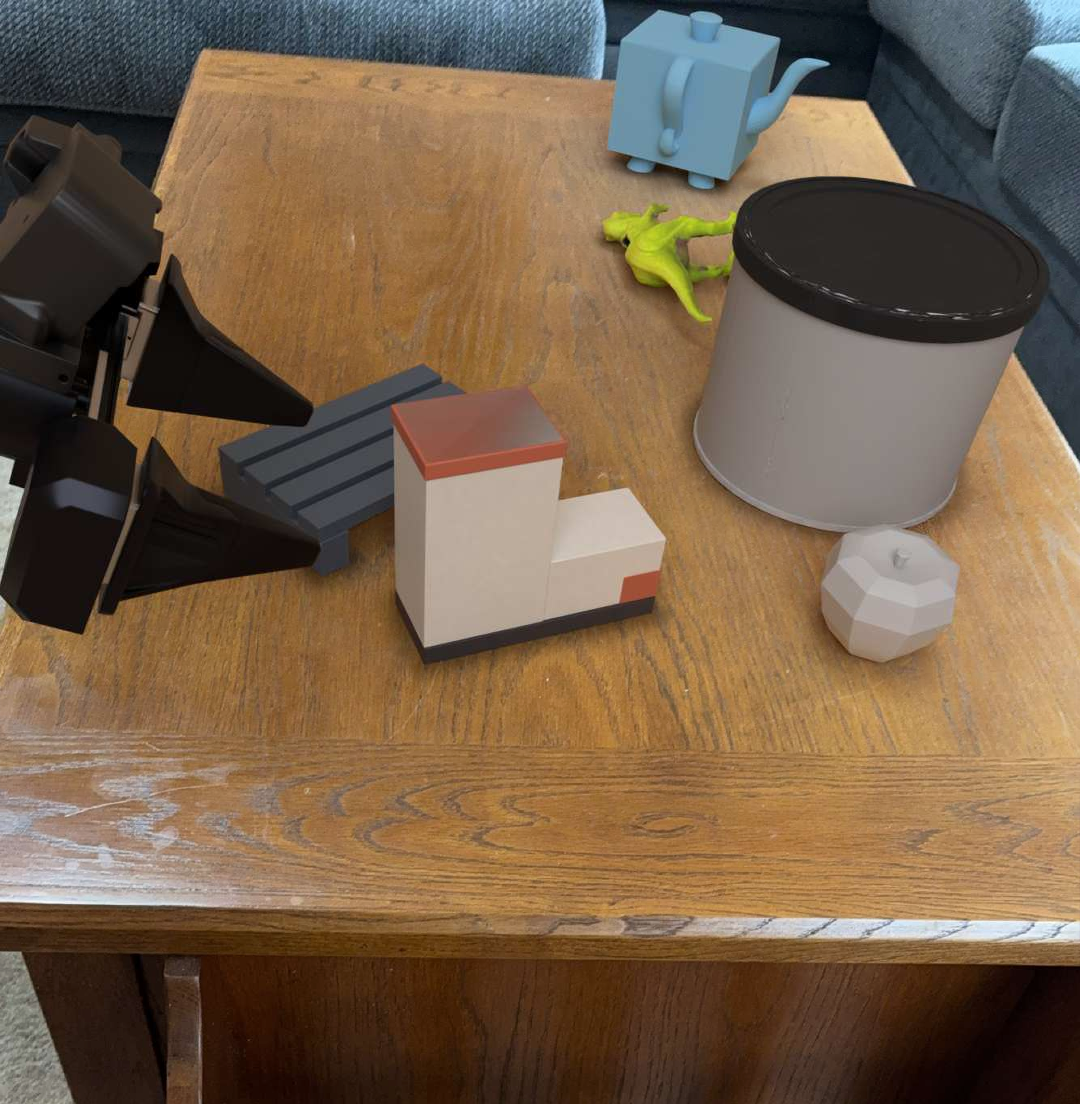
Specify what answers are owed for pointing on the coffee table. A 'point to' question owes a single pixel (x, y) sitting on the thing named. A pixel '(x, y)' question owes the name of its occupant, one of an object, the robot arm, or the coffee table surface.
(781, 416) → the container
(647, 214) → the dinosaur figurine
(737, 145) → the teapot
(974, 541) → the coffee table surface
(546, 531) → the cream boot
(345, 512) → the grey shipping pallet
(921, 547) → the apple
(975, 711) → the coffee table surface
